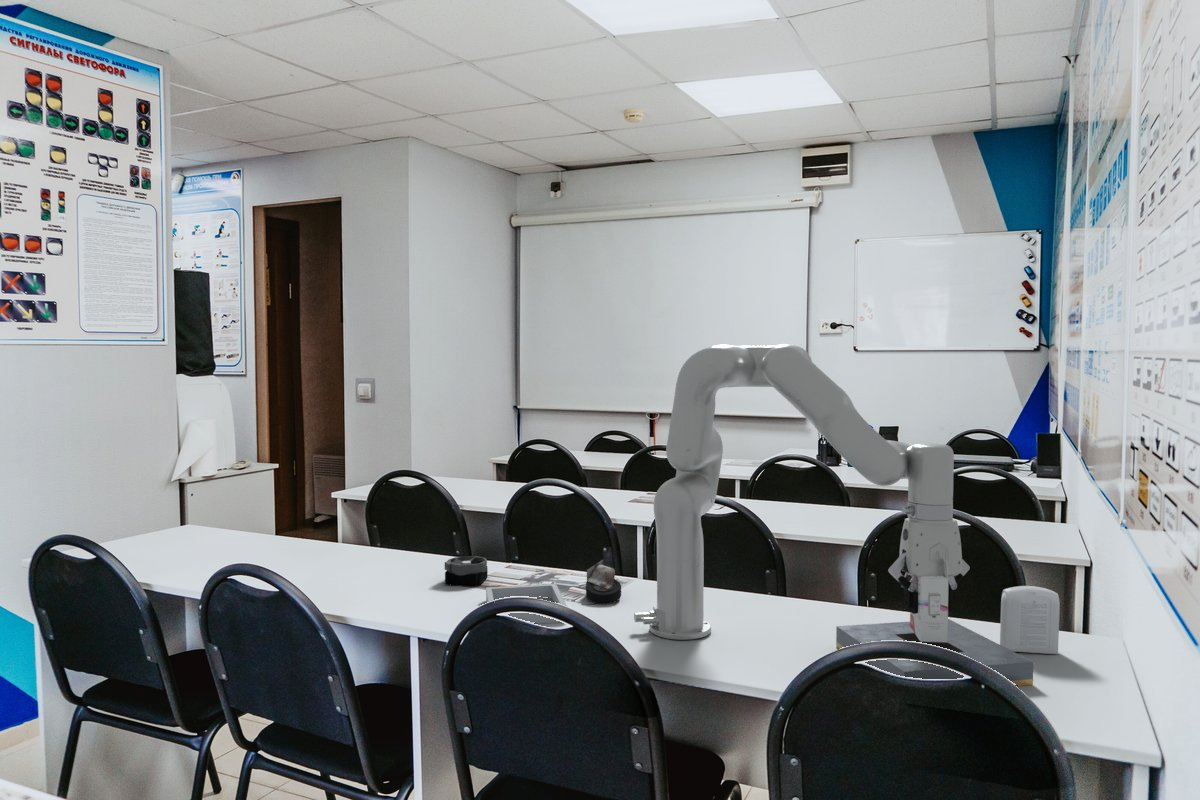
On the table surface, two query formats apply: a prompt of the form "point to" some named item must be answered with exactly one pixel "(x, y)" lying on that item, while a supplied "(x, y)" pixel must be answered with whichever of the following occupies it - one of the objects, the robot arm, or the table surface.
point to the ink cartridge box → (931, 608)
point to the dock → (958, 641)
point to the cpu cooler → (466, 571)
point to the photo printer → (1030, 620)
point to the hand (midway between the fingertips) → (928, 609)
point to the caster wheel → (602, 584)
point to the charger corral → (530, 591)
